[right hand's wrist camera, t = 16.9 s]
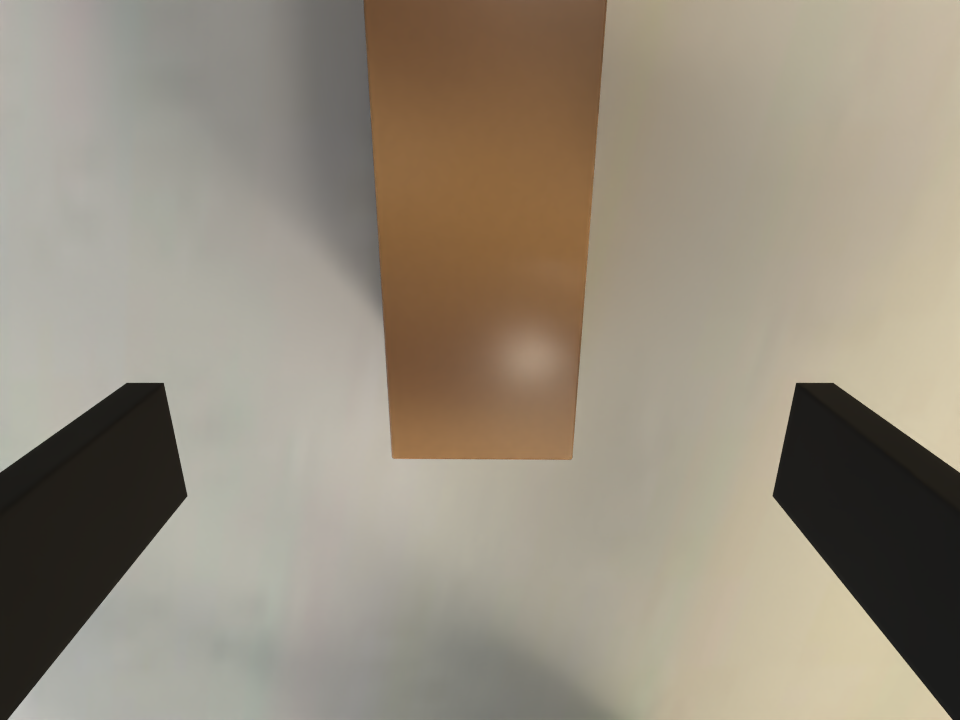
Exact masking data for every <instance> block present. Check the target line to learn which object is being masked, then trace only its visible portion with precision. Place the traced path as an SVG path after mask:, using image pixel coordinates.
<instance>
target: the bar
mask: <svg viewBox="0 0 960 720" xmlns="http://www.w3.org/2000/svg"><path fill="white" fill-rule="evenodd" d="M363 1H364V17H365V33H366V49H367V65H368V81H369V97H370V113H371V129H372V145H373V161H374V177H375V193H376V209H377V225H378V241H379V257H380V273H381V289H382V305H383V321H384V337H385V353H386V369H387V385H388V401H389V417H390V433H391V449H392V458H394V459H550V460H571V459H572V455H573V441H574V428H575V415H576V402H577V389H578V376H579V363H580V350H581V336H582V323H583V310H584V297H585V284H586V271H587V258H588V244H589V231H590V218H591V205H592V192H593V179H594V166H595V153H596V139H597V126H598V113H599V100H600V87H601V74H602V61H603V48H604V34H605V21H606V8H607V0H363Z"/></svg>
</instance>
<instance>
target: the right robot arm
mask: <svg viewBox="0 0 960 720" xmlns="http://www.w3.org/2000/svg"><path fill="white" fill-rule="evenodd" d="M186 497H187V492H186V487H185V482H184V478H183V473H182V468H181V463H180V458H179V454H178V449H177V444H176V439H175V435H174V430H173V425H172V420H171V416H170V411H169V406H168V401H167V396H166V392H165V387H164V383H126V384H125V385H123V386H122V387H120V388H119V389H118V390H116V391H115V392H113V393H112V394H111V395H109V396H108V397H106V398H105V399H104V400H102V401H101V402H99V403H98V404H96V405H95V406H94V407H92V408H91V409H89V410H88V411H87V412H85V413H84V414H82V415H81V416H80V417H78V418H77V419H75V420H74V421H73V422H71V423H70V424H68V425H67V426H65V427H64V428H63V429H61V430H60V431H58V432H57V433H56V434H54V435H53V436H51V437H50V438H49V439H47V440H46V441H44V442H43V443H41V444H40V445H39V446H37V447H36V448H34V449H33V450H32V451H30V452H29V453H27V454H26V455H25V456H23V457H22V458H20V459H19V460H18V461H16V462H15V463H13V464H12V465H10V466H9V467H8V468H6V469H5V470H3V471H2V472H1V473H0V720H7V719H8V718H9V717H10V716H11V715H12V713H13V712H14V711H15V710H16V708H17V707H18V706H19V705H20V703H21V702H22V701H23V700H24V698H25V697H26V696H27V695H28V693H29V692H30V691H31V690H32V688H33V687H34V686H35V685H36V683H37V682H38V681H39V680H40V678H41V677H42V676H43V675H44V674H45V672H46V671H47V670H48V669H49V667H50V666H51V665H52V664H53V662H54V661H55V660H56V659H57V657H58V656H59V655H60V654H61V652H62V651H63V650H64V649H65V647H66V646H67V645H68V644H69V642H70V641H71V640H72V639H73V637H74V636H75V635H76V634H77V633H78V631H79V630H80V629H81V628H82V626H83V625H84V624H85V623H86V621H87V620H88V619H89V618H90V616H91V615H92V614H93V613H94V611H95V610H96V609H97V608H98V606H99V605H100V604H101V603H102V601H103V600H104V599H105V598H106V596H107V595H108V594H109V593H110V592H111V590H112V589H113V588H114V587H115V585H116V584H117V583H118V582H119V580H120V579H121V578H122V577H123V575H124V574H125V573H126V572H127V570H128V569H129V568H130V567H131V565H132V564H133V563H134V562H135V560H136V559H137V558H138V557H139V555H140V554H141V553H142V552H143V551H144V549H145V548H146V547H147V546H148V544H149V543H150V542H151V541H152V539H153V538H154V537H155V536H156V534H157V533H158V532H159V531H160V529H161V528H162V527H163V526H164V524H165V523H166V522H167V521H168V519H169V518H170V517H171V516H172V514H173V513H174V512H175V511H176V510H177V508H178V507H179V506H180V505H181V503H182V502H183V501H184V500H185V498H186ZM773 497H774V498H775V500H776V501H777V502H778V503H779V505H780V506H781V507H782V508H783V510H784V511H785V512H786V513H787V514H788V516H789V517H790V518H791V519H792V521H793V522H794V523H795V524H796V526H797V527H798V528H799V529H800V531H801V532H802V533H803V534H804V536H805V537H806V538H807V539H808V541H809V542H810V543H811V544H812V546H813V547H814V548H815V549H816V551H817V552H818V553H819V554H820V555H821V557H822V558H823V559H824V560H825V562H826V563H827V564H828V565H829V567H830V568H831V569H832V570H833V572H834V573H835V574H836V575H837V577H838V578H839V579H840V580H841V582H842V583H843V584H844V585H845V587H846V588H847V589H848V590H849V592H850V593H851V594H852V595H853V596H854V598H855V599H856V600H857V601H858V603H859V604H860V605H861V606H862V608H863V609H864V610H865V611H866V613H867V614H868V615H869V616H870V618H871V619H872V620H873V621H874V623H875V624H876V625H877V626H878V628H879V629H880V630H881V631H882V633H883V634H884V635H885V636H886V637H887V639H888V640H889V641H890V642H891V644H892V645H893V646H894V647H895V649H896V650H897V651H898V652H899V654H900V655H901V656H902V657H903V659H904V660H905V661H906V662H907V664H908V665H909V666H910V667H911V669H912V670H913V671H914V672H915V674H916V675H917V676H918V677H919V678H920V680H921V681H922V682H923V683H924V685H925V686H926V687H927V688H928V690H929V691H930V692H931V693H932V695H933V696H934V697H935V698H936V700H937V701H938V702H939V703H940V705H941V706H942V707H943V708H944V710H945V711H946V712H947V713H948V715H949V716H950V717H951V718H952V719H953V720H960V473H959V472H958V471H957V470H955V469H954V468H952V467H951V466H950V465H948V464H947V463H945V462H944V461H942V460H941V459H940V458H938V457H937V456H935V455H934V454H933V453H931V452H930V451H928V450H927V449H926V448H924V447H923V446H921V445H920V444H919V443H917V442H916V441H914V440H913V439H911V438H910V437H909V436H907V435H906V434H904V433H903V432H902V431H900V430H899V429H897V428H896V427H895V426H893V425H892V424H890V423H889V422H887V421H886V420H885V419H883V418H882V417H880V416H879V415H878V414H876V413H875V412H873V411H872V410H871V409H869V408H868V407H866V406H865V405H864V404H862V403H861V402H859V401H858V400H856V399H855V398H854V397H852V396H851V395H849V394H848V393H847V392H845V391H844V390H842V389H841V388H840V387H838V386H837V385H835V384H834V383H796V387H795V392H794V396H793V401H792V406H791V411H790V416H789V420H788V425H787V430H786V435H785V439H784V444H783V449H782V454H781V458H780V463H779V468H778V473H777V478H776V482H775V487H774V492H773Z"/></svg>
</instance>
